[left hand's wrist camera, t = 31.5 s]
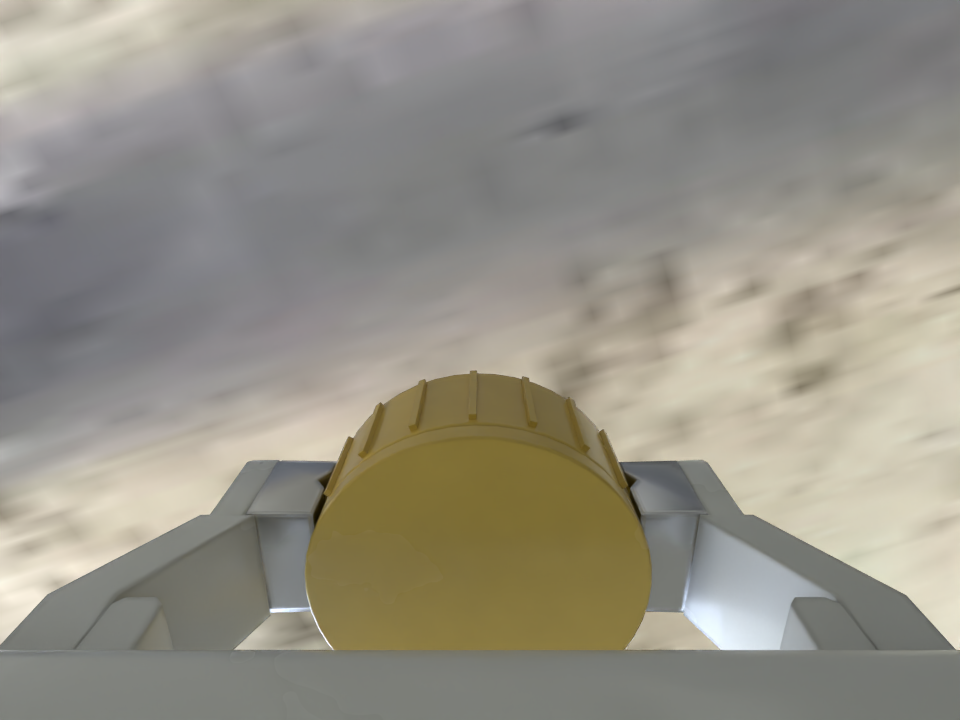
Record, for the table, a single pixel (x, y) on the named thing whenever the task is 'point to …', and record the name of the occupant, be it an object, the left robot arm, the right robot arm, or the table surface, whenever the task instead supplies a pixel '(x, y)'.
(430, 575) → the lid
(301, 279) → the table surface
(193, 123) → the table surface
